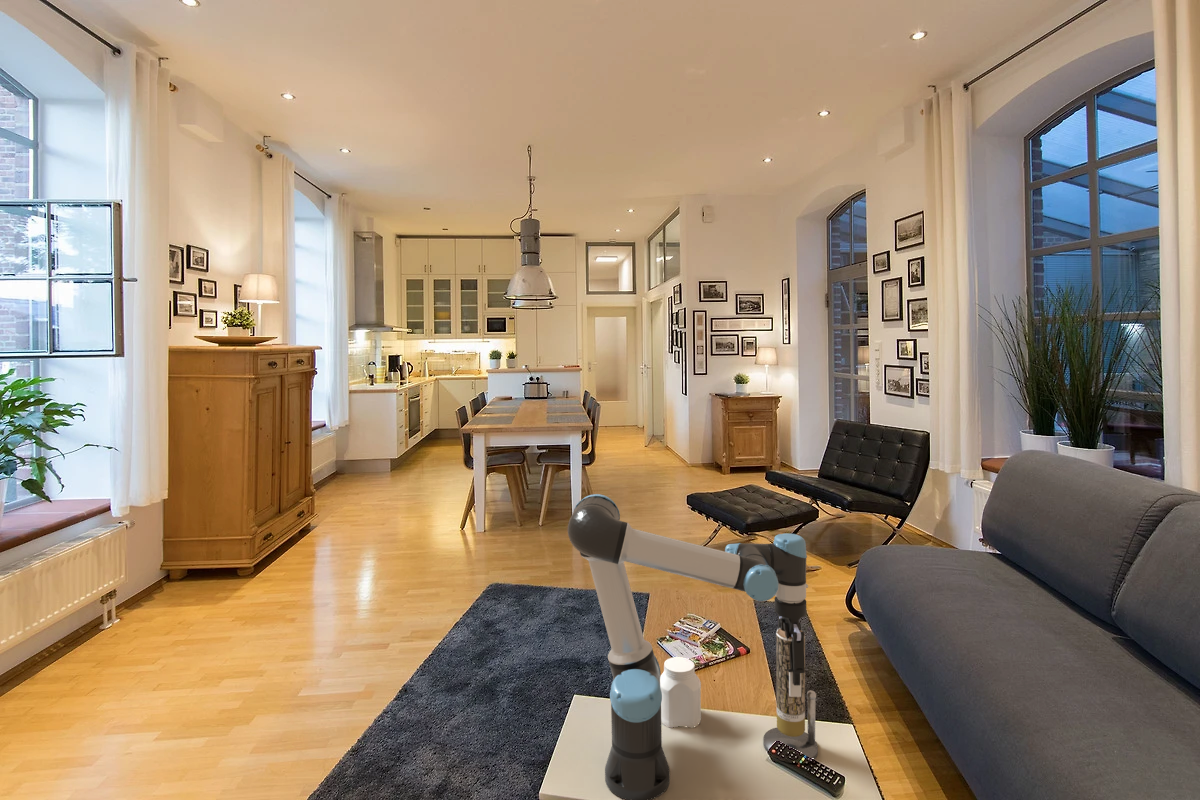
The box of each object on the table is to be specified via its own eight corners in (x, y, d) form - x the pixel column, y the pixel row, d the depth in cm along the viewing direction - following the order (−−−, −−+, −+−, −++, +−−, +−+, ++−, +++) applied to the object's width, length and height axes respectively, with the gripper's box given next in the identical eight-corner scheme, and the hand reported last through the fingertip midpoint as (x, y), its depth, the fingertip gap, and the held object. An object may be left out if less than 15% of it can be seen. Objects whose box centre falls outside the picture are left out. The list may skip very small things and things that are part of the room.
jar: (659, 727, 162) (658, 673, 161) (657, 707, 171) (657, 655, 170) (703, 728, 161) (702, 673, 160) (699, 707, 171) (698, 655, 170)
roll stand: (771, 764, 146) (771, 706, 145) (757, 731, 159) (757, 678, 158) (825, 763, 146) (825, 705, 145) (807, 730, 159) (807, 677, 158)
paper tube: (806, 739, 148) (806, 640, 147) (777, 736, 150) (777, 638, 148) (803, 723, 155) (803, 627, 153) (775, 720, 156) (775, 626, 155)
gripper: (819, 614, 140) (819, 710, 142) (793, 582, 160) (793, 667, 161) (787, 614, 140) (787, 710, 142) (764, 583, 160) (764, 668, 161)
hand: (790, 687), depth 152 cm, fingers closed on paper tube, 7 cm apart
